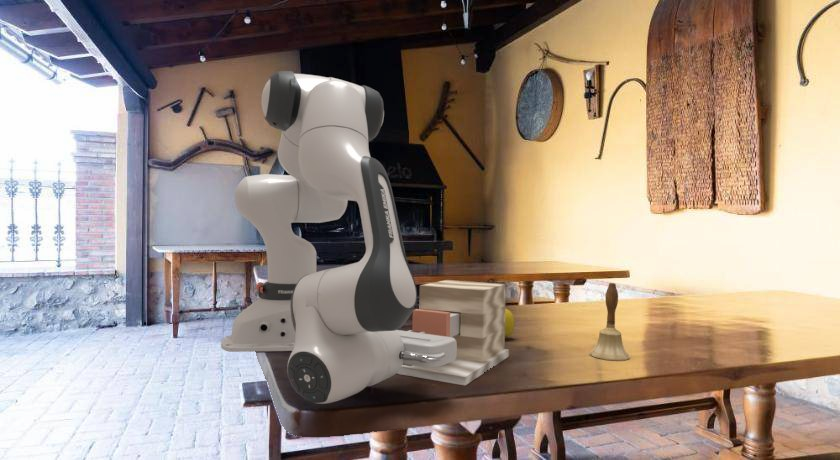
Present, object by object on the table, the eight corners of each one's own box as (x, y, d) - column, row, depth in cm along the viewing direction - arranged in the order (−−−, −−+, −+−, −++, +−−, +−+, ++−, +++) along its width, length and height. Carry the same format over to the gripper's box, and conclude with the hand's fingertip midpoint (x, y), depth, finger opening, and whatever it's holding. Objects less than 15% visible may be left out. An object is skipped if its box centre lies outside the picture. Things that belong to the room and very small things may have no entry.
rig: (465, 385, 92) (466, 297, 92) (387, 372, 99) (388, 290, 99) (508, 356, 113) (510, 284, 112) (441, 347, 120) (442, 279, 120)
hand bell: (629, 353, 117) (630, 282, 117) (631, 362, 109) (632, 286, 109) (590, 350, 120) (591, 280, 120) (589, 358, 112) (590, 284, 112)
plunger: (445, 352, 95) (446, 313, 95) (412, 347, 98) (412, 310, 98) (470, 340, 105) (471, 305, 105) (439, 336, 109) (439, 302, 109)
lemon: (513, 342, 126) (514, 309, 126) (490, 340, 127) (491, 308, 127) (514, 337, 132) (515, 305, 132) (492, 336, 133) (492, 304, 133)
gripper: (435, 340, 76) (472, 324, 88) (323, 324, 86) (371, 312, 98) (434, 383, 76) (471, 361, 88) (323, 362, 86) (370, 345, 98)
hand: (418, 335), depth 93 cm, fingers closed
